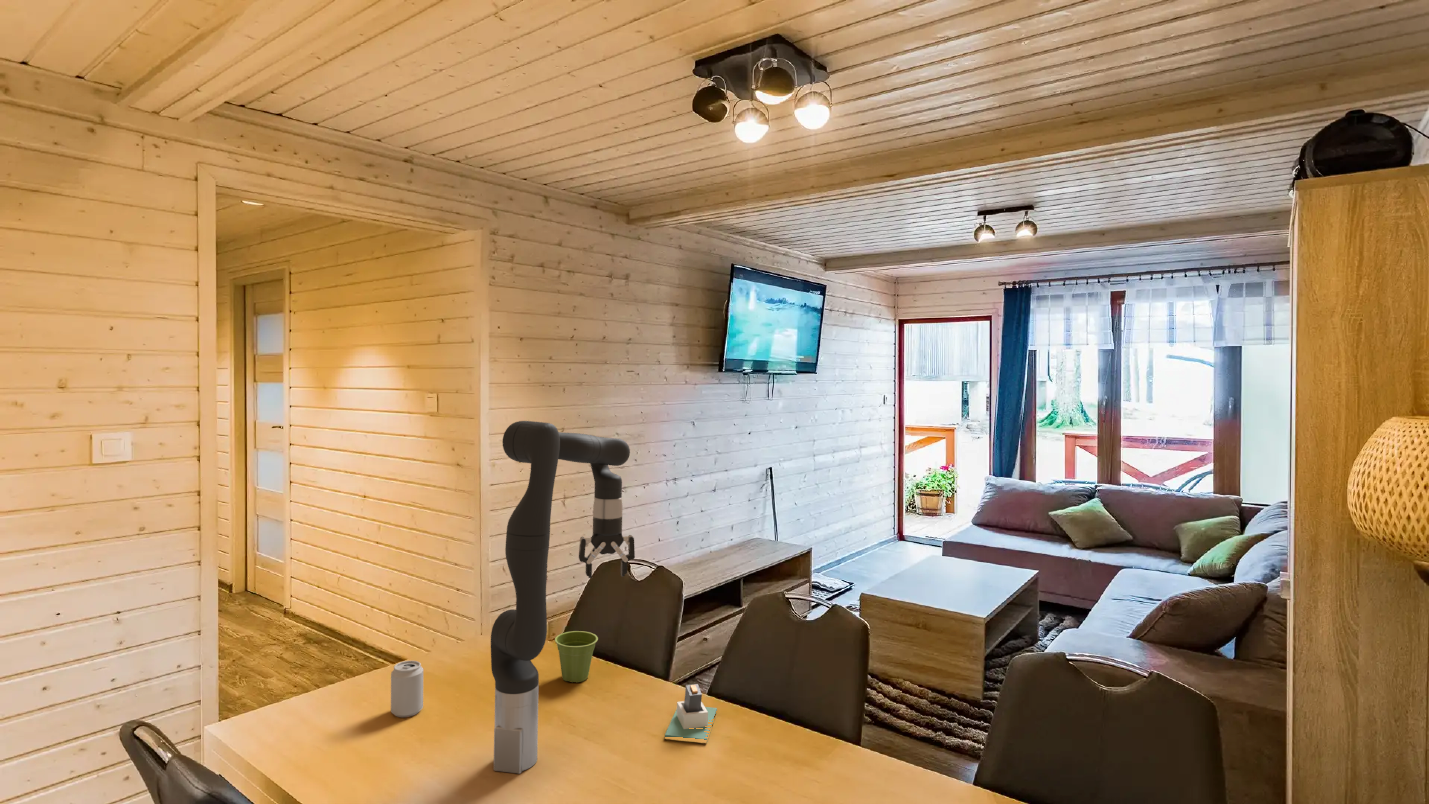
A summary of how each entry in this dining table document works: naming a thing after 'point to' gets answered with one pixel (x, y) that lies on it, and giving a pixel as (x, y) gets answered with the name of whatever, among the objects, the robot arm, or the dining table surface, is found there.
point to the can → (406, 689)
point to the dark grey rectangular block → (692, 698)
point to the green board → (678, 731)
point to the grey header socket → (692, 717)
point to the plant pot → (575, 654)
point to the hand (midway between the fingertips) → (606, 576)
